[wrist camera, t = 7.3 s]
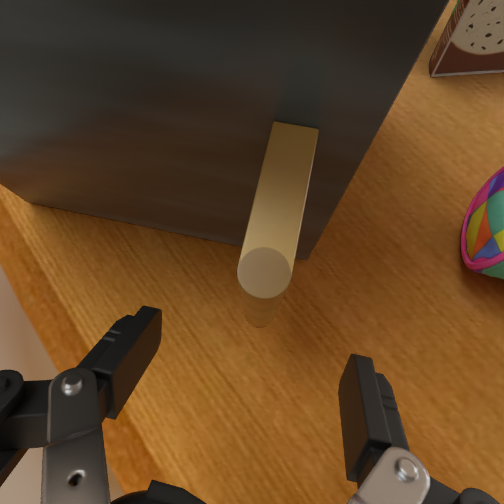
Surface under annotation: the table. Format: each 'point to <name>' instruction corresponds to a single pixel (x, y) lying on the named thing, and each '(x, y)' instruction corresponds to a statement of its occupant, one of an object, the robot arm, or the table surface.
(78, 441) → the robot arm
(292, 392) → the table surface
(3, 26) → the door
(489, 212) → the pencil case
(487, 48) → the food container
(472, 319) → the table surface
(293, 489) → the table surface
